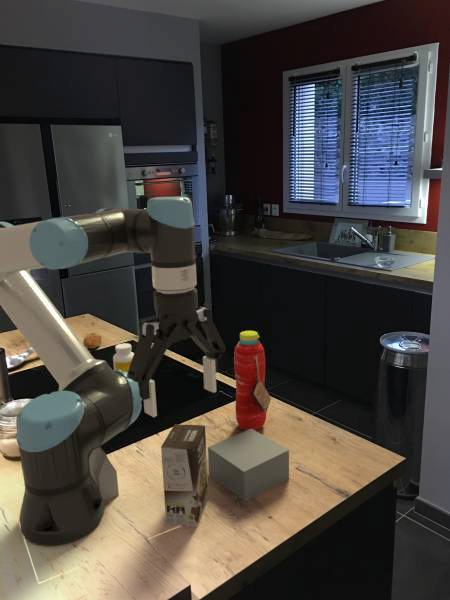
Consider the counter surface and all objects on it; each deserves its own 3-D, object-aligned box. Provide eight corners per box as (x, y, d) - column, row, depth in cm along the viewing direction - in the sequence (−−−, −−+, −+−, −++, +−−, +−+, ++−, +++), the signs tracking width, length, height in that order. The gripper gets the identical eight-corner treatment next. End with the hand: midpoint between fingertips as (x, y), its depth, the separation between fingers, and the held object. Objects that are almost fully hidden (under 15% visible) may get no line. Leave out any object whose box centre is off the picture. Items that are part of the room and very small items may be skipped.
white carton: (101, 503, 104) (96, 458, 102) (91, 486, 110) (86, 443, 107) (119, 496, 106) (114, 452, 104) (108, 480, 112) (103, 438, 109)
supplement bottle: (140, 388, 157) (136, 347, 154) (118, 392, 155) (114, 351, 152) (135, 379, 163) (131, 340, 160) (113, 383, 161) (110, 344, 158)
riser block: (245, 503, 103) (244, 471, 101) (209, 476, 112) (207, 447, 111) (289, 479, 110) (288, 449, 108) (252, 456, 119) (251, 428, 118)
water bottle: (278, 437, 127) (277, 339, 120) (247, 443, 124) (245, 344, 118) (259, 415, 138) (257, 324, 131) (230, 421, 135) (227, 328, 129)
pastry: (102, 349, 191) (101, 339, 190) (83, 350, 189) (82, 340, 188) (101, 341, 200) (101, 331, 199) (83, 342, 198) (82, 333, 197)
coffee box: (198, 528, 96) (194, 449, 92) (165, 524, 97) (159, 446, 93) (210, 497, 105) (206, 424, 101) (179, 494, 106) (174, 422, 102)
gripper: (123, 307, 80) (134, 433, 85) (242, 279, 95) (245, 386, 101) (99, 298, 85) (111, 417, 90) (215, 273, 101) (219, 376, 106)
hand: (181, 401), depth 96 cm, fingers open, 13 cm apart
